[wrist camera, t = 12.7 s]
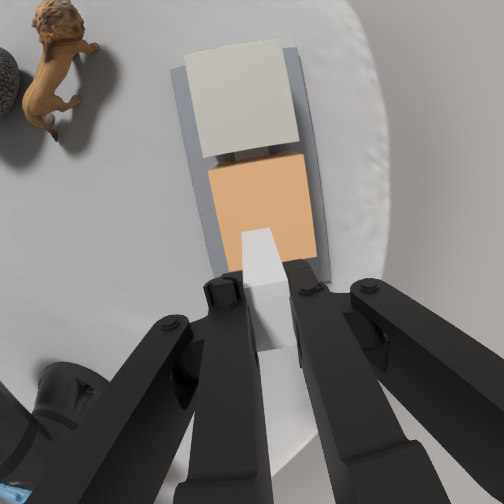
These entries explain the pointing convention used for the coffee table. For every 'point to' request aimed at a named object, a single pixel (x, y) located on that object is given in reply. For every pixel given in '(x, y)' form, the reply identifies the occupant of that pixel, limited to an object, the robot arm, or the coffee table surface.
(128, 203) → the coffee table surface
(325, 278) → the rail board
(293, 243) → the block
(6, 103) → the decorative ball
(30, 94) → the lion figurine
